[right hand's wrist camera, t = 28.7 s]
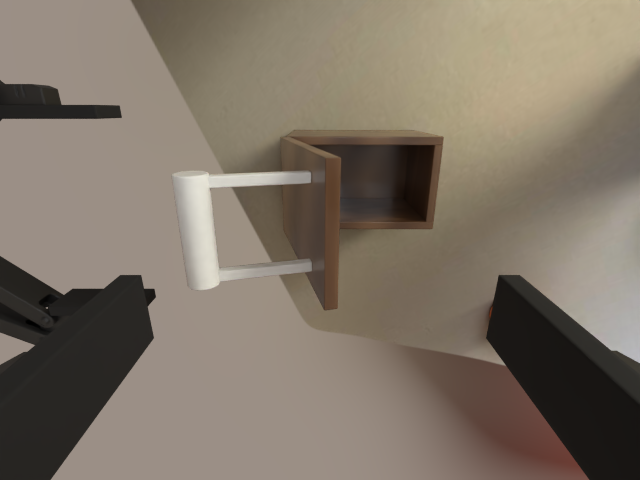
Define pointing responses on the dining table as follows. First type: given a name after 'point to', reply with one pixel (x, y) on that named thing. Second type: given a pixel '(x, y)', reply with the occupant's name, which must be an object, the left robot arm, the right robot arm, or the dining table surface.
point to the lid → (298, 216)
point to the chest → (383, 175)
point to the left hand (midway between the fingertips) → (130, 216)
